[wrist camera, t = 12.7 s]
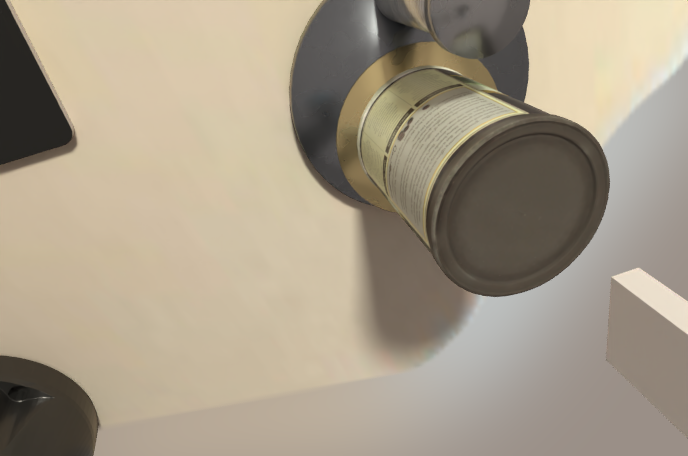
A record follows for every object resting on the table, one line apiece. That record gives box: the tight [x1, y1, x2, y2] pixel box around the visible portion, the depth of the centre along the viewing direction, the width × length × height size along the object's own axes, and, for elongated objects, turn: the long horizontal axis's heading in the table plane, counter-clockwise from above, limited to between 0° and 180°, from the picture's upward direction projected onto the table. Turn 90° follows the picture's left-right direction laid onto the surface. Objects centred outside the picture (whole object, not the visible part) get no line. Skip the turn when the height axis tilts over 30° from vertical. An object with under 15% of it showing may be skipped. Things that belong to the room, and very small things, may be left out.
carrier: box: [289, 0, 530, 213], centre depth 35 cm, size 18×19×12 cm
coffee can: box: [357, 65, 610, 297], centre depth 35 cm, size 10×10×14 cm
